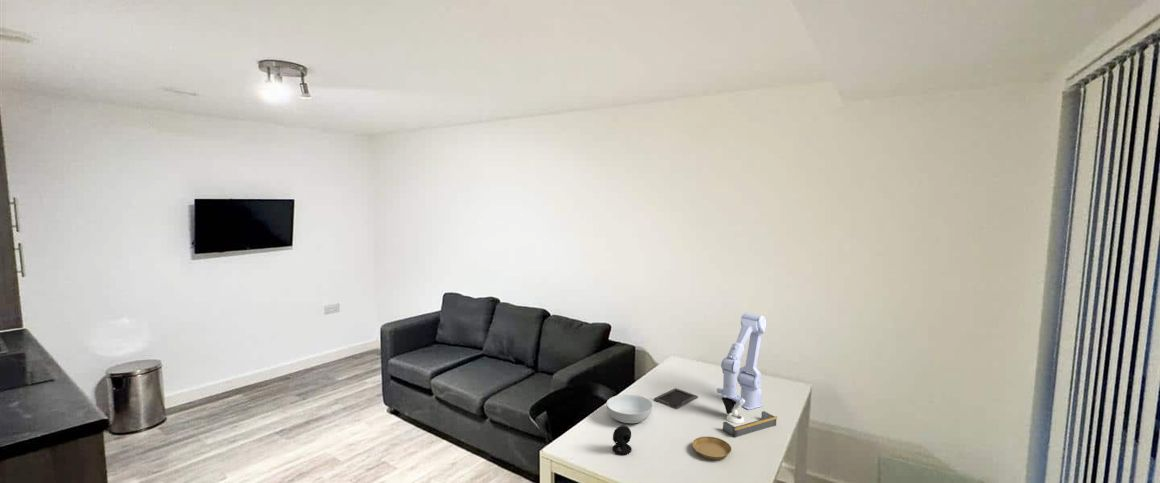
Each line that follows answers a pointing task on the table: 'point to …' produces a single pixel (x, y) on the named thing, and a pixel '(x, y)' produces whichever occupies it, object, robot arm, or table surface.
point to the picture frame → (675, 398)
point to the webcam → (622, 440)
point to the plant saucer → (711, 447)
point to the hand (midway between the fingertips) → (729, 413)
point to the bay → (751, 425)
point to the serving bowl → (629, 408)
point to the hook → (736, 414)
